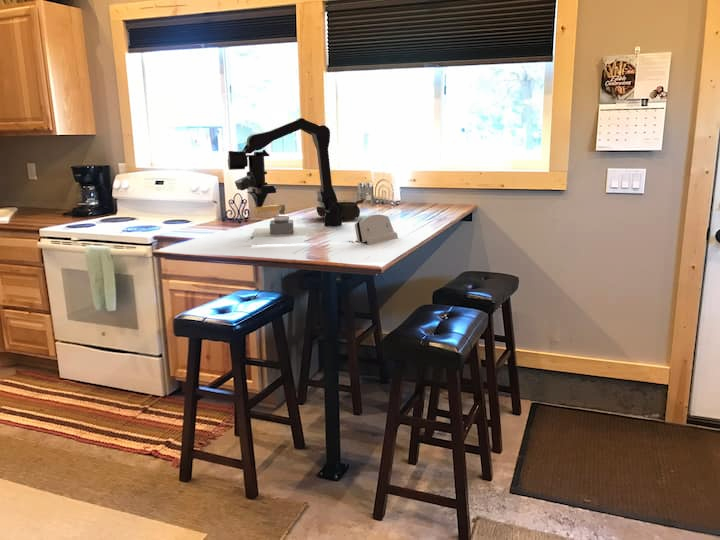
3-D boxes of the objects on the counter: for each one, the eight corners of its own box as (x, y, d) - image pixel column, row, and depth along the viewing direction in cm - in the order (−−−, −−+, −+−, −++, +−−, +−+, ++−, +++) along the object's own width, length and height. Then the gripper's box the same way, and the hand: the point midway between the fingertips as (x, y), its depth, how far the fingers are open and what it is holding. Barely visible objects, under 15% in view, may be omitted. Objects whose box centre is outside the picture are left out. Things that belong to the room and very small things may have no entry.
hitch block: (316, 229, 235) (315, 208, 233) (317, 236, 218) (316, 215, 216) (254, 231, 232) (253, 210, 230) (251, 239, 216) (249, 217, 214)
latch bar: (283, 209, 232) (283, 204, 231) (286, 210, 230) (286, 204, 229) (254, 212, 225) (254, 207, 224) (257, 213, 223) (257, 207, 222)
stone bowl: (367, 222, 249) (365, 199, 247) (307, 227, 250) (305, 205, 248) (367, 212, 273) (365, 192, 271) (313, 217, 274) (310, 197, 272)
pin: (289, 230, 226) (288, 213, 224) (289, 233, 221) (288, 215, 219) (275, 231, 225) (274, 214, 224) (274, 233, 220) (273, 216, 219)
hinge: (368, 244, 202) (360, 216, 202) (358, 247, 205) (350, 219, 205) (398, 237, 214) (391, 210, 214) (389, 240, 218) (381, 214, 218)
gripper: (226, 168, 225) (229, 209, 229) (248, 172, 211) (250, 215, 215) (253, 166, 232) (255, 206, 236) (276, 170, 217) (278, 212, 221)
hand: (259, 210), depth 227 cm, fingers closed
